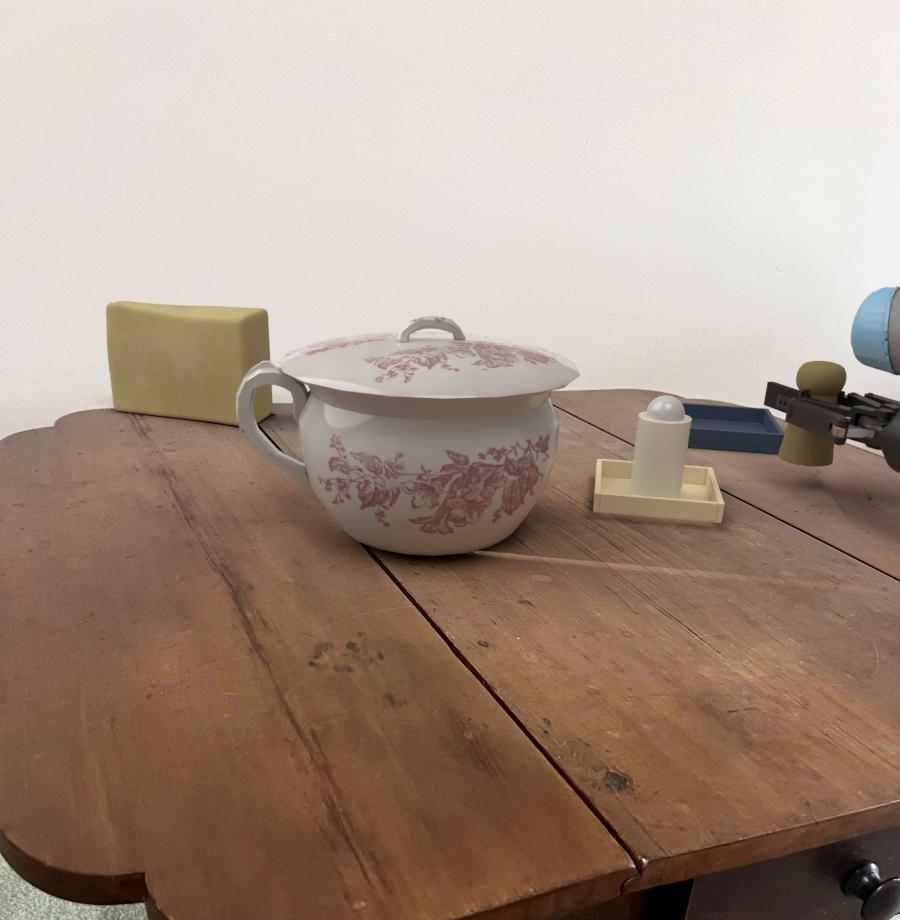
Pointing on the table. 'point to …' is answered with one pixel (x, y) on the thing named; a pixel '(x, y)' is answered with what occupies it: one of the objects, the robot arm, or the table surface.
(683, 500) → the light tray
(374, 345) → the chamber pot
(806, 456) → the olive tapered knobbed cylinder
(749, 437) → the dark tray
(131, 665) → the table surface
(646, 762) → the table surface
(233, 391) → the cheese
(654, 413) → the salt shaker
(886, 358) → the robot arm
